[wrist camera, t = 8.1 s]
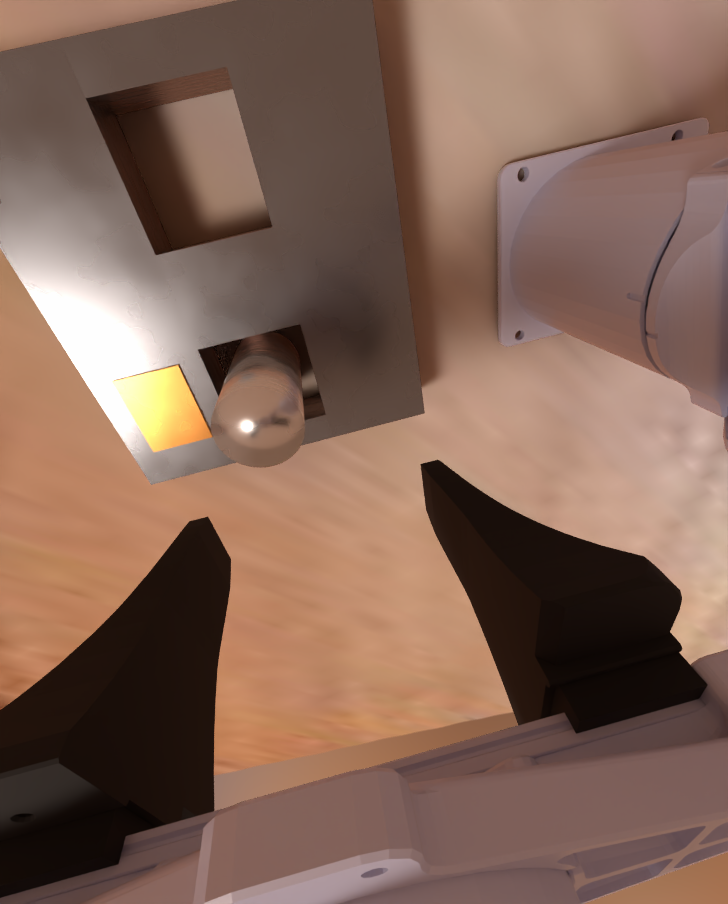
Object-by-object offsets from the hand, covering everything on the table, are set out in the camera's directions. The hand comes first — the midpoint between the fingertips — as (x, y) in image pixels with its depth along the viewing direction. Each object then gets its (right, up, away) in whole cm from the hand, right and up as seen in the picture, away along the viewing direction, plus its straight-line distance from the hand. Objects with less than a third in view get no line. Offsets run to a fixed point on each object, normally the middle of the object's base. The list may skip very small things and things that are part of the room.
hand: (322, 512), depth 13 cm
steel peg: (-3, +6, +6) cm, 10 cm away
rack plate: (-4, +10, +4) cm, 11 cm away
